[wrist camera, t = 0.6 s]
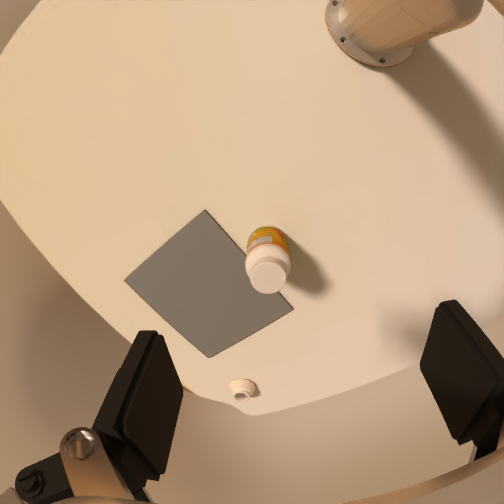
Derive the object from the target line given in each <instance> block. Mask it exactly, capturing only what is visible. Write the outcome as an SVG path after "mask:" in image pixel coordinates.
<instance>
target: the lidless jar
mask: <svg viewBox="0 0 504 504" xmlns="http://www.w3.org/2000/svg"><path fill="white" fill-rule="evenodd" d="M229 389H230V391H231V393H232V395H233V396H234V399H236V400H238V401H247V400H248V399H249V398H250V397H251V396H252V394H253V393H254V391H255V385H254V383H253V382H251V381H249V380H245V379H237V380H234V381H232V382H231V383H230V385H229Z"/></svg>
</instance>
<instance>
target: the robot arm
mask: <svg viewBox="0 0 504 504" xmlns="http://www.w3.org/2000/svg"><path fill="white" fill-rule="evenodd" d="M488 1H489V2H490V4H491V5H492V6H493V7H494V8H495V9H496V10H497V11H498V12H499V13H500V14H501V15H502V16H503V17H504V0H488ZM483 3H484V0H329V2H328V4H327V7H326V13H325V17H326V24H327V27H328V30H329V32H330V34H331V36H332V38H333V39H334V41H335V42H336V43H337V44H338V46H339V47H340V48H341V49H342V50H343V51H344V52H345V53H347V54H348V55H350V56H351V57H352V58H354V59H356V60H358V61H360V62H362V63H365V64H368V65H371V66H377V67H388V66H393V65H396V64H399V63H401V62H403V61H405V60H406V59H407V58H408V57H409V56H410V55H411V54H412V52H413V50H414V48H415V45H416V44H417V43H420V42H422V41H425V40H427V39H430V38H433V37H436V36H439V35H441V34H444V33H447V32H450V31H453V30H456V29H460V28H463V27H465V26H467V25H469V24H471V23H472V22H473V21H475V20H476V18H477V17H478V16H479V14H480V12H481V10H482V7H483ZM332 4H334V5H335V6H334V5H332ZM340 40H343V41H344V43H342V42H341V41H340ZM379 60H381V62H380V61H379ZM420 369H421V372H422V374H423V376H424V378H425V380H426V382H427V384H428V386H429V388H430V390H431V392H432V394H433V396H434V398H435V400H436V402H437V405H438V407H439V409H440V411H441V413H442V415H443V418H444V420H445V422H446V424H447V427H448V429H449V431H450V434H451V436H452V438H453V439H455V440H456V439H457V442H458V444H459V445H462V444H464V443H467V442H469V441H471V440H473V443H474V447H473V450H472V453H471V456H470V459H469V462H468V464H467V465H464V466H462V467H460V468H458V469H455V470H453V471H451V472H448V473H446V474H443V475H441V476H438V477H436V478H433V479H430V480H427V481H424V482H421V483H419V484H415V485H412V486H409V487H406V488H403V489H399V490H396V491H392V492H389V493H385V494H381V495H377V496H373V497H369V498H364V499H360V500H355V501H350V502H344V503H338V504H504V358H503V357H502V356H501V354H500V353H499V351H498V350H497V349H496V348H495V346H494V345H493V344H492V342H491V341H490V340H489V338H488V337H487V336H486V335H485V334H484V332H483V331H482V330H481V328H480V327H479V326H478V325H477V324H476V322H475V321H474V320H473V319H472V318H471V316H470V315H469V314H468V313H467V312H466V310H465V309H464V308H463V307H462V306H461V305H460V304H459V302H458V301H457V300H449V301H444V302H441V303H440V304H439V307H437V308H436V310H435V313H434V317H433V321H432V324H431V328H430V332H429V335H428V338H427V342H426V345H425V348H424V352H423V355H422V358H421V361H420ZM182 398H183V387H182V384H181V382H180V379H179V377H178V374H177V372H176V369H175V367H174V364H173V361H172V359H171V356H170V353H169V351H168V348H167V345H166V342H165V340H164V337H163V336H162V335H159V334H158V332H157V331H155V330H145V331H139V332H138V334H137V336H136V338H135V340H134V342H133V344H132V346H131V348H130V350H129V352H128V354H127V356H126V358H125V360H124V363H123V365H122V366H121V368H120V369H119V370H118V372H117V374H116V376H115V378H114V380H113V382H112V384H111V386H110V389H109V391H108V393H107V395H106V397H105V399H104V402H103V404H102V406H101V408H100V410H99V413H98V415H97V417H96V419H95V422H94V424H93V426H92V429H90V428H87V427H78V428H75V429H72V430H70V431H69V432H67V433H66V434H65V435H64V437H63V438H62V440H61V442H60V447H59V448H60V452H59V453H57V454H55V455H52V456H50V457H48V458H46V459H44V460H42V461H39V462H37V463H35V464H32V465H30V466H28V467H26V468H24V469H22V470H21V471H20V472H19V473H18V475H17V477H16V480H15V488H12V487H10V488H9V489H7V490H6V491H5V492H4V493H3V494H2V495H1V496H0V504H156V503H154V501H153V500H152V498H151V497H150V495H149V493H148V492H147V490H146V489H145V486H146V482H147V479H148V480H154V481H159V478H160V474H164V473H165V471H166V466H167V462H168V457H169V453H170V449H171V444H172V440H173V436H174V431H175V427H176V423H177V419H178V414H179V410H180V406H181V402H182Z"/></svg>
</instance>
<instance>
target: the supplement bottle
mask: <svg viewBox="0 0 504 504" xmlns="http://www.w3.org/2000/svg"><path fill="white" fill-rule="evenodd" d="M245 269H246V272H247V275H248V276H249V278H250V282H251V284H252V286H253V287H254V288H255V289H256V290H257V291H259V292H261V293H265V294H271V293H275V292H278V291H279V290H281V289H282V288H283V286H284V285H285V283H286V278H287V276H288V274H289V272H290V269H291V261H290V255H289V250H288V244H287V239H286V237H285V235H284V233H283V232H282V231H281V230H279V229H278V228H276V227H273V226H262V227H259V228H257V229H256V230H254V231H253V232H252V233H251V235H250V237H249V239H248V244H247V252H246V260H245Z"/></svg>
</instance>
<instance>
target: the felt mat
mask: <svg viewBox="0 0 504 504" xmlns="http://www.w3.org/2000/svg"><path fill="white" fill-rule="evenodd" d="M245 260H246V255H245V254H244V253H243V252H242V250H241V249H240V248H239V247H238V246H237V245H236V244H235V243H234V241H233V240H232V239H231V238H230V237H229V236H228V235H227V234H226V232H225V231H224V230H223V229H222V228H221V227H220V226H219V225H218V223H217V222H216V221H215V220H214V219H213V218H212V217H211V216H210V214H209V213H208V212H207V211H206V210H203V211H202V212H201V213H200V214H199V215H197V216H196V217H195V218H194V219H193V220H191V221H190V222H189V223H188V224H187V225H186V226H184V227H183V228H182V229H181V230H180V231H178V232H177V233H176V234H175V235H174V236H173V237H171V238H170V239H169V240H168V241H167V242H166V243H165V244H163V245H162V246H161V247H160V248H159V249H158V250H157V251H155V252H154V253H153V254H152V255H151V256H150V257H149V258H148V259H146V260H145V261H144V262H143V263H142V264H141V265H140V266H139V267H138V268H136V269H135V270H134V271H133V272H132V273H131V274H130V275H129V276H128V277H127V278H126V279H125V280H124V281H125V282H126V283H127V284H128V285H129V286H130V287H131V288H132V289H133V290H134V291H135V292H136V293H137V294H138V295H139V296H140V297H141V298H142V299H143V300H144V301H145V302H146V303H147V304H148V305H149V306H150V307H151V308H152V309H153V310H155V311H156V312H157V313H158V314H159V315H160V316H161V317H162V318H163V319H164V320H165V321H166V322H167V323H169V324H170V325H171V326H172V327H173V328H174V329H175V330H176V331H177V332H179V333H180V334H181V335H182V336H183V337H184V338H185V339H186V340H188V341H189V342H190V343H191V344H192V345H193V346H195V347H196V348H197V349H198V350H199V351H200V352H202V353H203V354H204V355H205V356H206V357H208V358H209V357H211V356H213V355H215V354H217V353H219V352H220V351H222V350H224V349H226V348H228V347H229V346H231V345H233V344H235V343H237V342H238V341H240V340H242V339H244V338H245V337H247V336H249V335H251V334H252V333H254V332H256V331H258V330H259V329H261V328H263V327H264V326H266V325H268V324H269V323H271V322H273V321H274V320H276V319H278V318H279V317H281V316H283V315H284V314H286V313H288V312H289V311H291V310H293V308H292V306H291V305H290V304H289V303H288V302H287V301H286V300H285V299H284V297H283V296H282V295H281V294H280V293H279V292H275V293H271V294H265V293H261V292H259V291H257V290H256V289H255V288H254V287H253V286H252V284H251V282H250V278H249V276H248V275H247V272H246V269H245Z"/></svg>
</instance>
